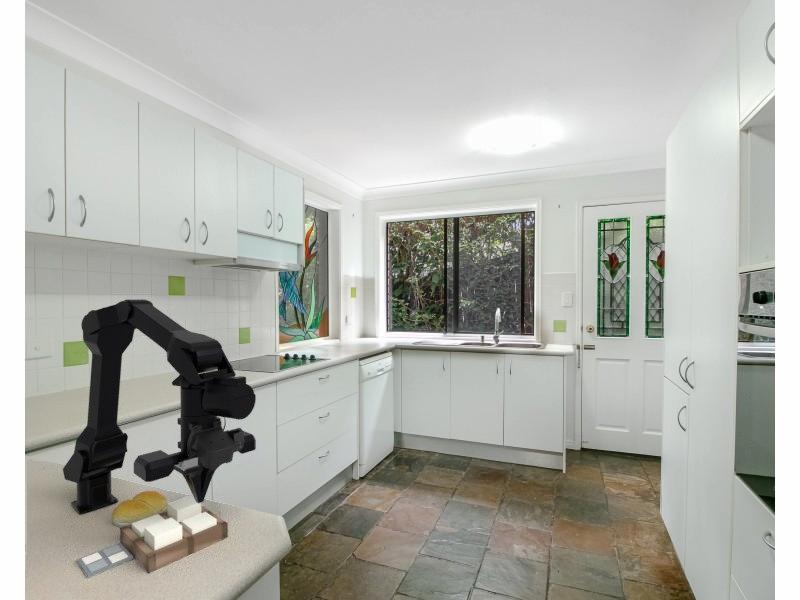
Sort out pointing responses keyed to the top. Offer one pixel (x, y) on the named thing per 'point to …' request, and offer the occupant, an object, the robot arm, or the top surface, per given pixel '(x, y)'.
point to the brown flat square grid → (175, 550)
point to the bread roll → (139, 508)
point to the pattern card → (104, 559)
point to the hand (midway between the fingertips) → (199, 502)
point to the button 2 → (162, 533)
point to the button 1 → (145, 524)
